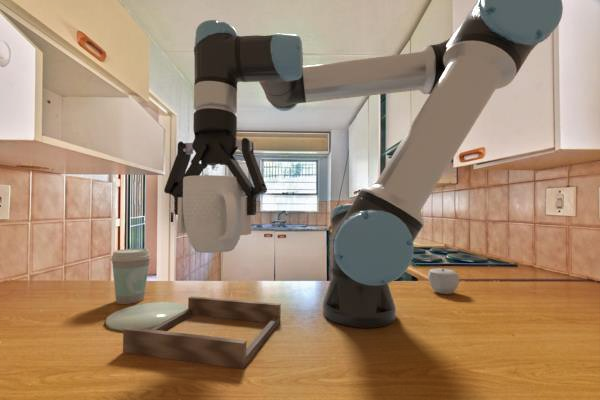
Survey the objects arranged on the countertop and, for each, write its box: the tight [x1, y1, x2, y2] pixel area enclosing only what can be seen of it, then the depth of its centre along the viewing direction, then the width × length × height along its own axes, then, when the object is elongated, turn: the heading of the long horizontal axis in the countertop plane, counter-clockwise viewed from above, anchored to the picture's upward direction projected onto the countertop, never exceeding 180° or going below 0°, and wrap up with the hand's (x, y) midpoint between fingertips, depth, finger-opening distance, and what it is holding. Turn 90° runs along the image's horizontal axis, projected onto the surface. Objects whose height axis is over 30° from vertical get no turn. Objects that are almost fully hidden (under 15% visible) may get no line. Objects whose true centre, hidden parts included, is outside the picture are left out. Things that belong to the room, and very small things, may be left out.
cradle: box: [122, 295, 282, 370], centre depth 52 cm, size 20×18×4 cm
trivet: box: [105, 301, 188, 332], centre depth 61 cm, size 15×15×1 cm
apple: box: [427, 267, 460, 295], centre depth 81 cm, size 8×8×7 cm
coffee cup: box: [110, 248, 152, 305], centre depth 72 cm, size 8×8×12 cm
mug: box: [183, 174, 247, 254], centre depth 52 cm, size 15×11×13 cm
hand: (214, 233), depth 53 cm, fingers closed on mug, 12 cm apart
